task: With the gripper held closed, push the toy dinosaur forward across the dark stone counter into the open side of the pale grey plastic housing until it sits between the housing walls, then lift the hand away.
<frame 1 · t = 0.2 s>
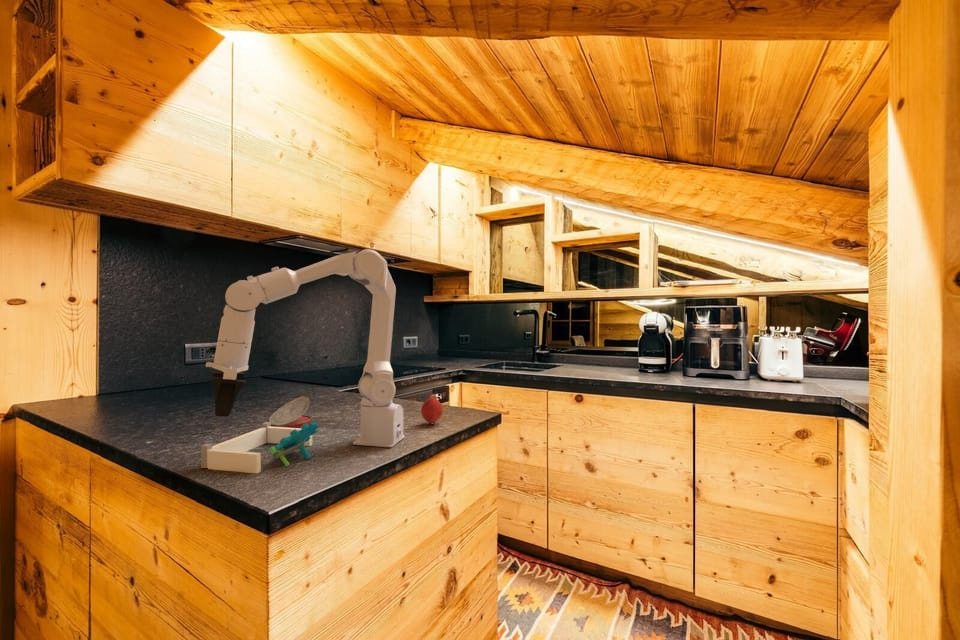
hand: (222, 411, 78), 11 cm above the countertop, tool pointing down, fingers open, 7 cm apart
housing: (259, 455, 84), on the countertop
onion: (431, 424, 109), on the countertop
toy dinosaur: (293, 459, 82), on the countertop
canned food: (290, 432, 102), on the countertop
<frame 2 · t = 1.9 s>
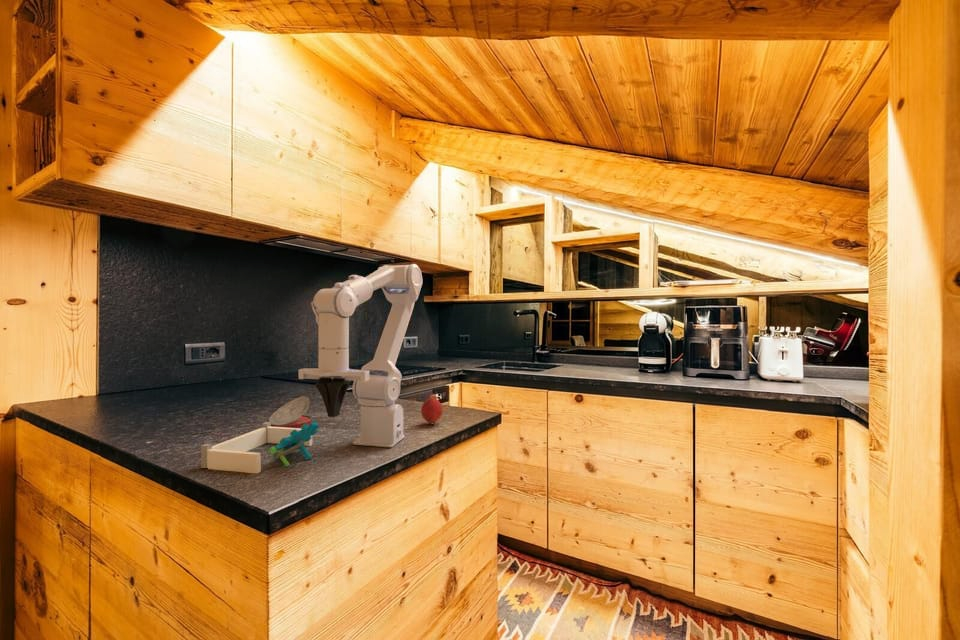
hand: (333, 415, 81), 9 cm above the countertop, tool pointing down, fingers closed
nothing on the countertop moved.
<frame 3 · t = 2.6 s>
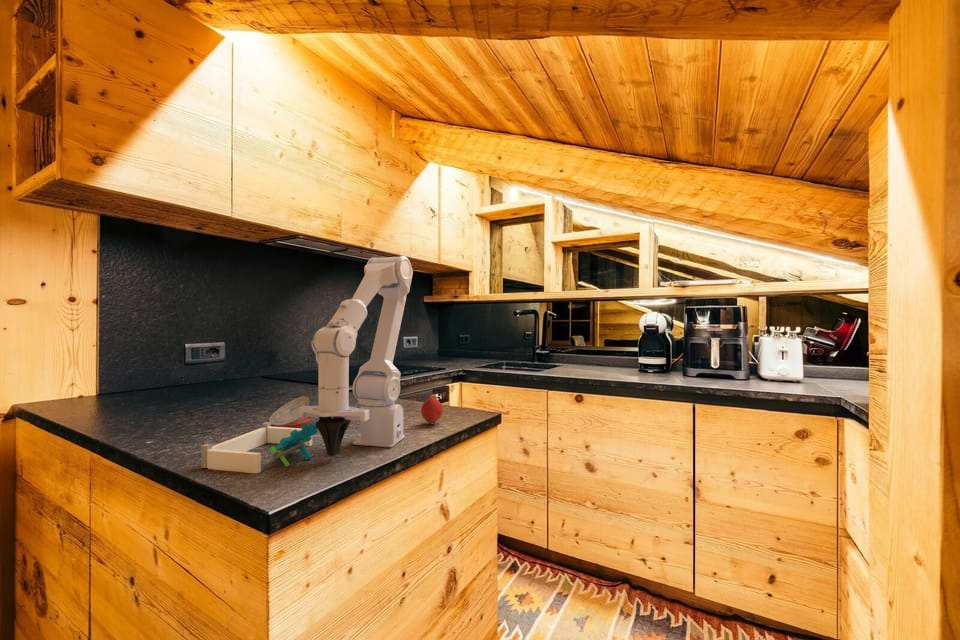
hand: (333, 454, 81), 1 cm above the countertop, tool pointing down, fingers closed
nothing on the countertop moved.
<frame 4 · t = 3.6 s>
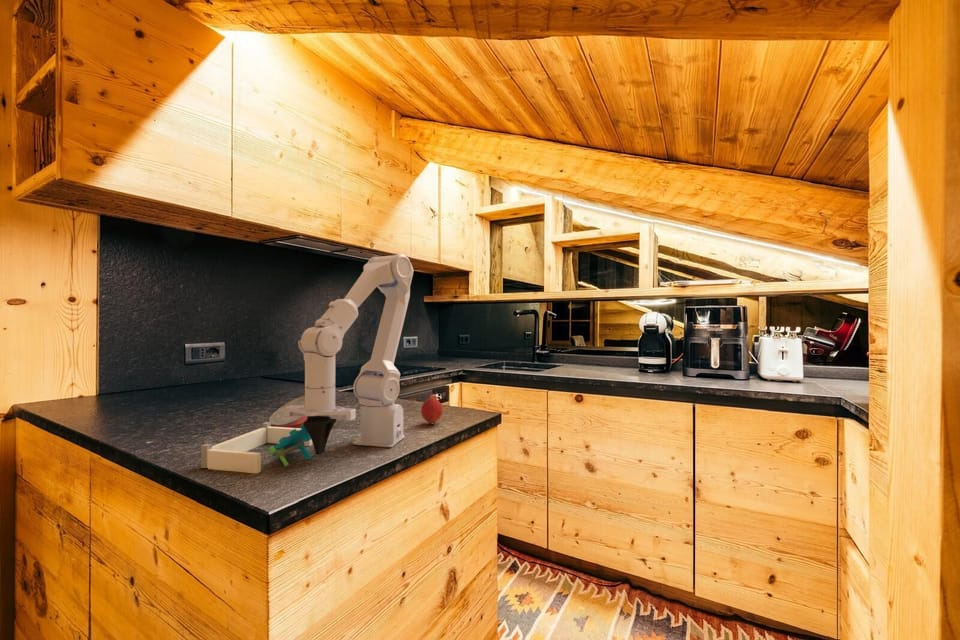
hand: (320, 453, 81), 1 cm above the countertop, tool pointing down, fingers closed
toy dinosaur: (294, 459, 82), on the countertop, touching gripper
everything else where it was.
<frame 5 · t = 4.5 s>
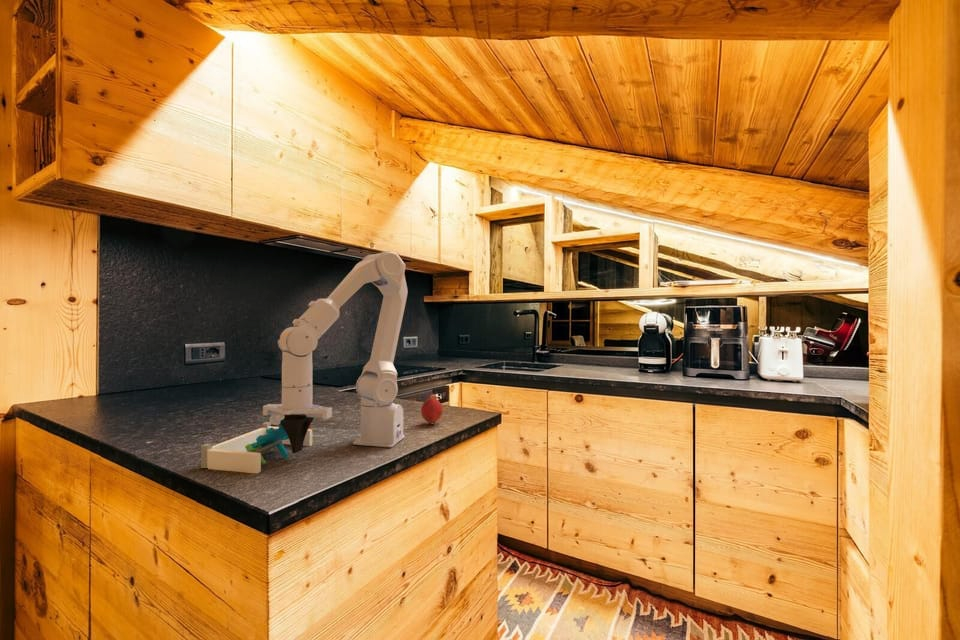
hand: (297, 451, 82), 1 cm above the countertop, tool pointing down, fingers closed
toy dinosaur: (272, 457, 83), on the countertop, touching gripper
everything else where it was.
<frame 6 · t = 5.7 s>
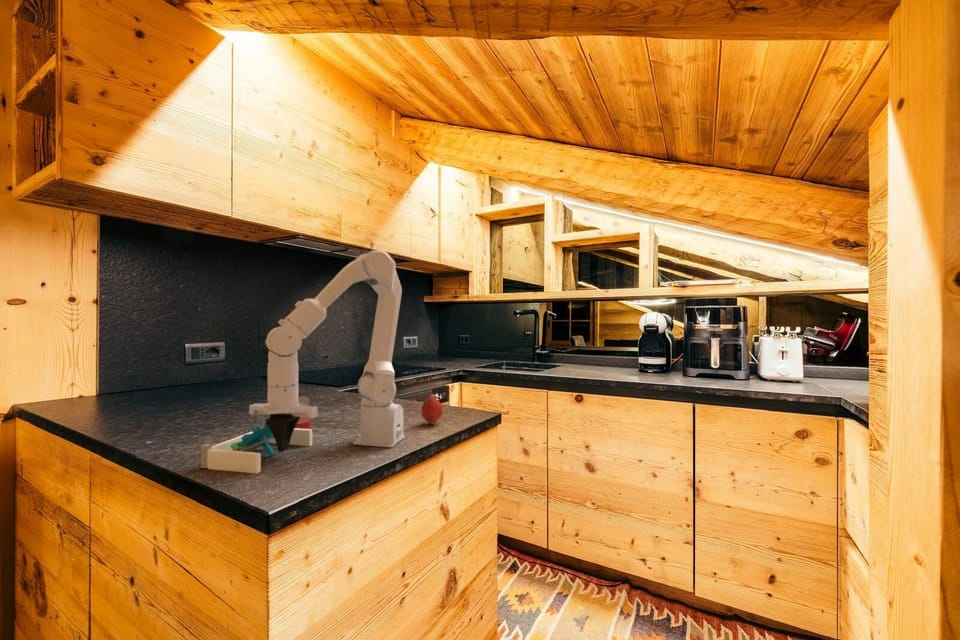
hand: (283, 450, 83), 1 cm above the countertop, tool pointing down, fingers closed
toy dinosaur: (257, 456, 84), on the countertop, touching gripper
everything else where it was.
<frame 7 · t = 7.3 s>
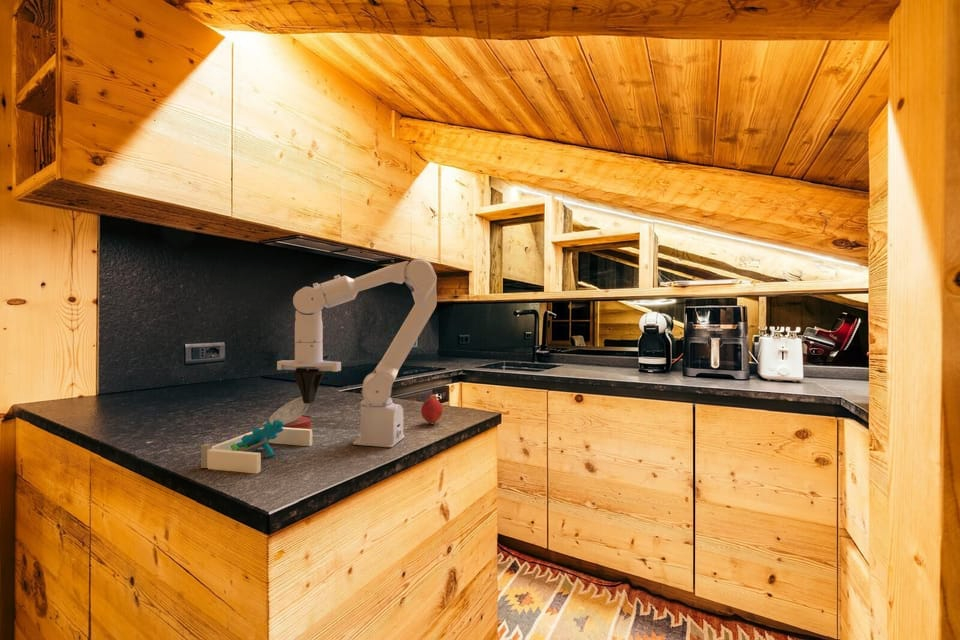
hand: (308, 402, 90), 10 cm above the countertop, tool pointing down, fingers closed
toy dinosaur: (258, 457, 84), on the countertop
everything else where it was.
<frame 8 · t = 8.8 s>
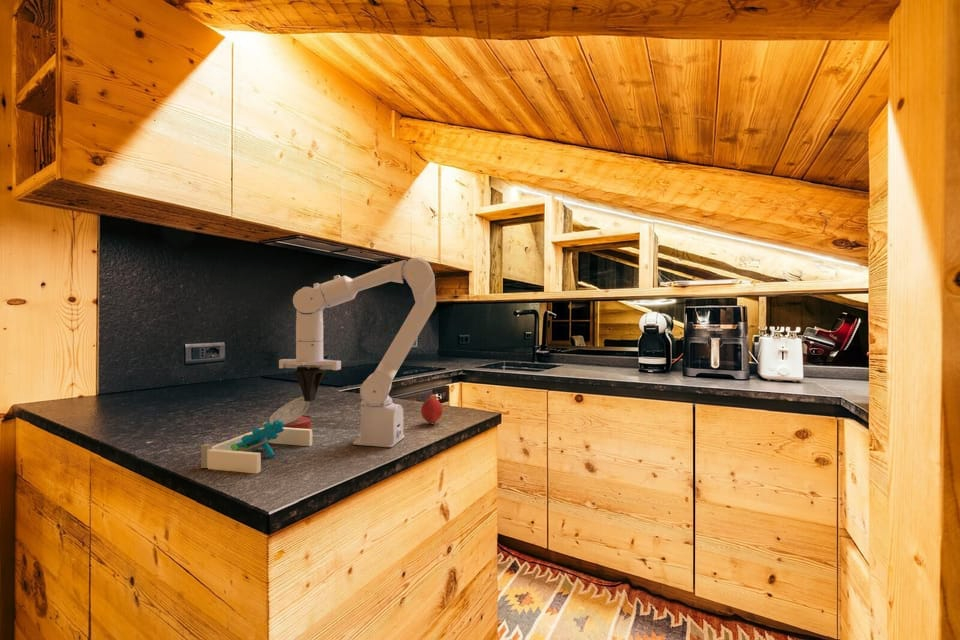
hand: (309, 400, 92), 10 cm above the countertop, tool pointing down, fingers closed
nothing on the countertop moved.
at the end: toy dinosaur inside the target area (0.3 cm from its centre), on the countertop; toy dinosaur moved 8.1 cm from its start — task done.
